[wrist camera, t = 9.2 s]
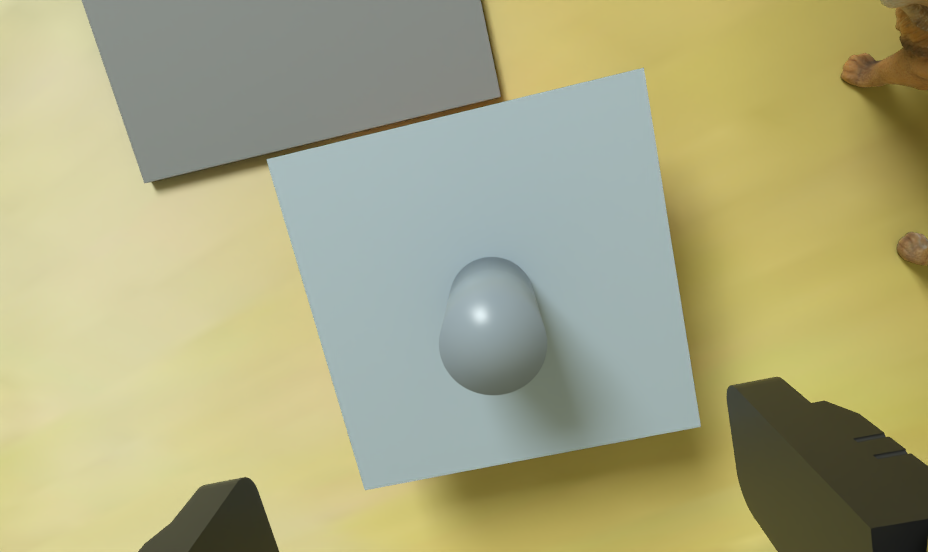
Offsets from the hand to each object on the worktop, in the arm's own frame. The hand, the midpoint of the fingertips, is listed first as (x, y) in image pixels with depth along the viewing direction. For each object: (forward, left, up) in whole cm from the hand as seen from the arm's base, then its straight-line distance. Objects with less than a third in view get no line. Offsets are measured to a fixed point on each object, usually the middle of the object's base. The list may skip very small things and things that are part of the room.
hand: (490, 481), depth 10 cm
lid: (0, 0, -13) cm, 13 cm away
